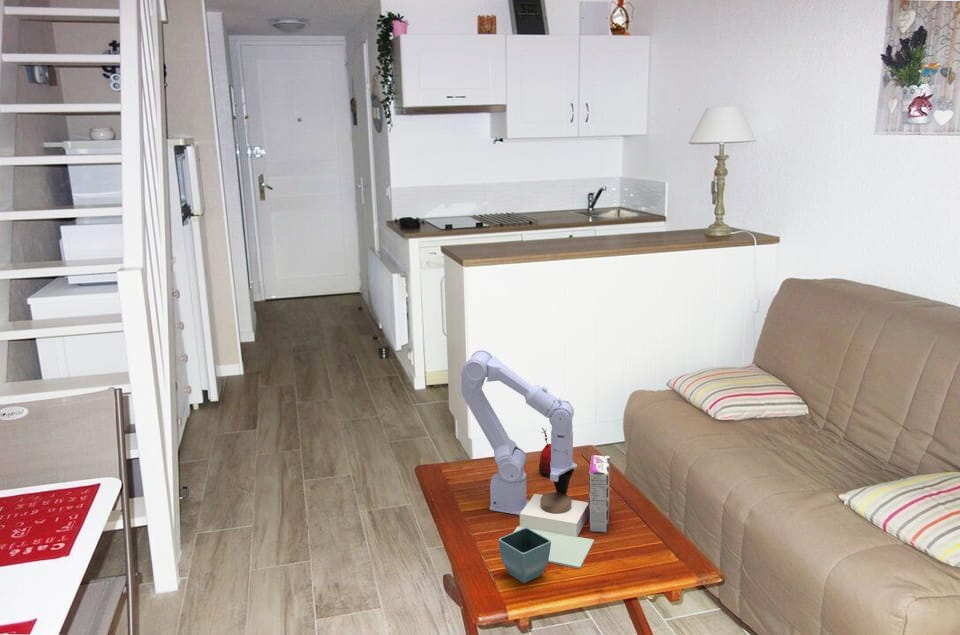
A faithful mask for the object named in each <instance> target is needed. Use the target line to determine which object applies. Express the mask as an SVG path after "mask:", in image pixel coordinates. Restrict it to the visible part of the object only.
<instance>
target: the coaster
mask: <svg viewBox="0 0 960 635" xmlns="http://www.w3.org/2000/svg"><path fill="white" fill-rule="evenodd" d="M542 495H543V496H542V497H541V509H542V510H544V511H545V512H548V513H553V514H561V513H565V512H568V511H569V510H570V509H571V500H572V497H571V496H570V495H568V494H563V493H557V492H553V491H552V492H548V493H545V494H542Z"/></svg>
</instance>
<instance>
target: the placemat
mask: <svg viewBox="0 0 960 635" xmlns="http://www.w3.org/2000/svg"><path fill="white" fill-rule="evenodd" d="M522 528H525V527H522V526H520V525H517V526H516V528H515V530H514V531H513V532H515V531H518V530H520V529H522ZM526 528H527V527H526ZM529 529H531V530H532V531H534V532H536V533H538V534H540V535H541V536H543V537H545V538H547V539H549V540H551V547H550V554H549V560H548V563H549V564H555V565H559V566H564V567H570V568H575V569H578V570H579V569H581V568H582V566H583V564H584V562H585V560H586V558H587V556H588V555H589V553H590V550H591V549H592V547H593V544H594V543H595V539H592V538H587V537H580V536H578V537H576V536H571V535H565V534H560V533H554V532H549V531H544V530H538V529H533V528H529Z"/></svg>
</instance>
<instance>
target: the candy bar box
mask: <svg viewBox="0 0 960 635" xmlns="http://www.w3.org/2000/svg"><path fill="white" fill-rule="evenodd" d="M590 456H591V457H590V465H589V472H588V478H589V479H588V480H589V481H588V483H589V484H588V493H589V496H588V497H589V499H588V500H589V502H588V503H589V517H588V519H589V521H588V522H589V523H588V524H589V527H588V528H589V530H588V531H589V532H591V533H604V534H605V533H607V534H608V533H609V522H610V455H597V454H592V455H590Z"/></svg>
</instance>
